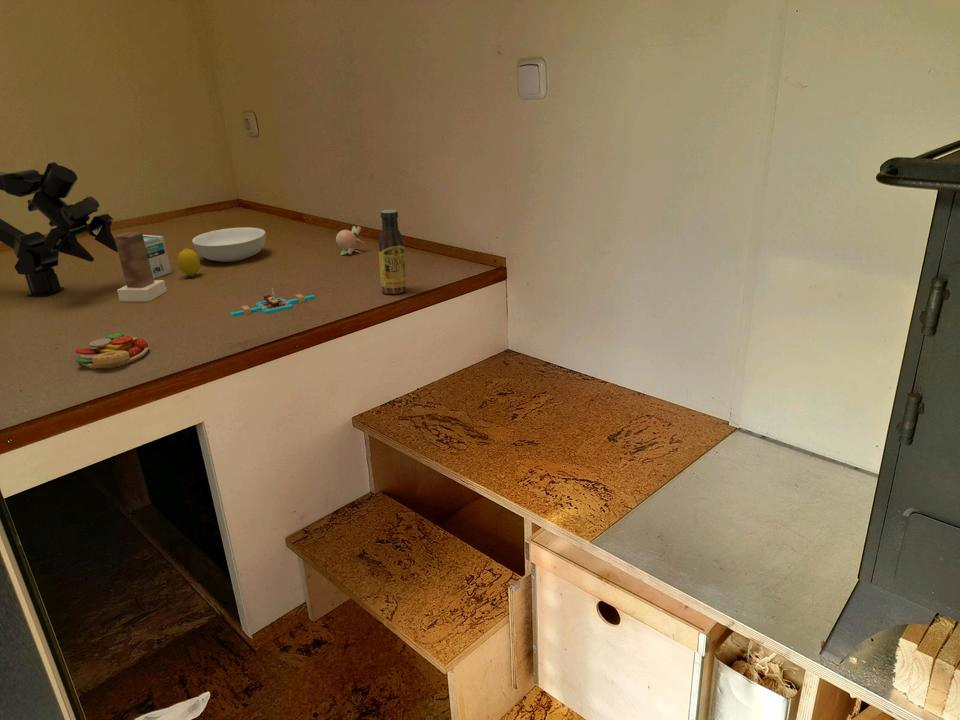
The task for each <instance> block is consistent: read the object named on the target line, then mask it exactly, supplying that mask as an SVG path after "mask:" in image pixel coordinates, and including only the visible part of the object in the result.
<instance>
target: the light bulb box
mask: <svg viewBox="0 0 960 720" xmlns="http://www.w3.org/2000/svg"><path fill="white" fill-rule="evenodd" d="M143 238H144V242H145V246H146V250H147V254H148V258H149V263H150V267H151V271H152V275H153V279H154V280H155V279H157V278H160V277H163V276H166V275H169V274H172V269H171V264H170V261H169V256H168V252H167V249H166V243H165V240H164V236H163V235H149V234H143Z"/></svg>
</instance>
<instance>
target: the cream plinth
mask: <svg viewBox="0 0 960 720" xmlns="http://www.w3.org/2000/svg"><path fill="white" fill-rule="evenodd" d="M116 291H117V296H118V301H119V302H151V301H152V300H155V299H157V298H158V297H160V296H161V295H163V294H165V293H167V286H166V282H165V280H162V279H158V280H157V279H156V280H155V279H154V283H153V284H150V285H148V286H146V287H144V288H127V284H126V285H124V286H122V287H121V288H118V289H117V290H116Z"/></svg>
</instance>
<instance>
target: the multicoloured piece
mask: <svg viewBox="0 0 960 720" xmlns="http://www.w3.org/2000/svg"><path fill="white" fill-rule="evenodd" d="M271 293H272V296H271V295H270V294H269V295H263V301H258V302H256V303H255V305H256V307H252V308H251V307H249V305H242V306H241V310H239V311H232V312H230V315H231V317H236V316H242V315H246V316H247V315H251V314H252V313H256V312H259V311H261V310H262V311H261V312H263V314H265V315H267V314H271V313H277V312H280V311H286V310H291V309H293V305H292V304H296V303H299V304H300V303H306V301H310V300H315V299H316V296H315V295H314V294H311V295H306V296H304V295H303V294H301V293H298V294H297V293H296V294H295V298H293V299H288V300H287V299H285V298H284V297H276V296H275V291H274V287H272V288H271Z"/></svg>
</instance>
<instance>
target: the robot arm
mask: <svg viewBox="0 0 960 720" xmlns="http://www.w3.org/2000/svg"><path fill="white" fill-rule="evenodd" d="M77 181H78V174H76V172H74V171H73V170H72V169H71V168H70V169H69V168H68V167H66V166H63V165H59V164H58V163H57V162H49V163H48V164H47V165H46V167H45V170H44V172H43V173H40V172H39V171H38V170H37V169H24V170H18V171H13V172H1V171H0V190H1V191H2V192H3V191H4V192H5V194H6V193H7V194H8V195H12V196H14V197H19V198H23V197H27V196H31V195H33V197H32V198H31V199H28V200H27V210H28V212H34V211H39V212H40V213H41V214H43V216H44V217H46V218H47V219H48V220H49V223H48V225H49V226H50V229H49V231H48V233H47V235H46V236H45V235H44V234H42V232H39V231H34V232H30V233H25V232H23V231H21V230H20V229H18V228H16V227H15V226H13V225H12V224H10V223H8V222H7V221H5V220H3V219H2V218H0V242H1V243H3V244H4V245H5V246H8V247H9V248H11V249H12V251H13V252H14V254H15V256H16V258H17V261H16V263H15V265H14V269H15V271H16V272H17V274H18V275H24V276H25V277H24V278H25V280H26V282H27V286H28V288H29V292H28V293H26V294H25V295H26V296H29V297H40V296H42V297H47V296H51V295H53V294H56V293H58V292H59V291H61V290H64V289H65V286H61V285H60V282H59V281H60V280H59V278H58V275H57V273H56V271H55V268H54V267H58V266H59V254H60V253H62V254H65V255H68V256H72V257H75V258H78V259H82V260H84V261H87V262H90V263H92V262H93V261H95V258H94V257H93V255H92V254H91V253H90V252H88V250H87V249H86V248H85V247H84V246H83V245H82V244H80V242H78V239H77V237H79V236H82V235H85V234H89V235H90V236H91V237H93V238H94V240H95V241H97V242H98V243H100V244H102V245H103V246H105V247H106V248H108V249H110V250H112V251H114V252H116V253H118V250H117V246H116V242H115V239H114V236H113V234H112V231H111V227H112V225H113V222H114V218H113V217H111V215H110V214H108V213H101V214H97V215H95V216H93V217H92V219H91V217H90V215H92V214H93V213H97V212H98V211H99V209H98V208H100V203H99V201H98V200H97V199H96V198H94V197H93V196H91V195H90V196H87V197H85V198H83V199H82V200H80V201H78V202H76V203H74V204H73V203H72V204H68V203H67V202H65V201H64V200H63V199H65V198H67V197H68V196H69V194H70V193H71V191H72V189H74V188H73V187H74V186H75V184H76V183H77ZM90 219H91V221H90V222H89V220H90ZM87 222H89V223H87ZM53 227H54V228H53Z"/></svg>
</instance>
